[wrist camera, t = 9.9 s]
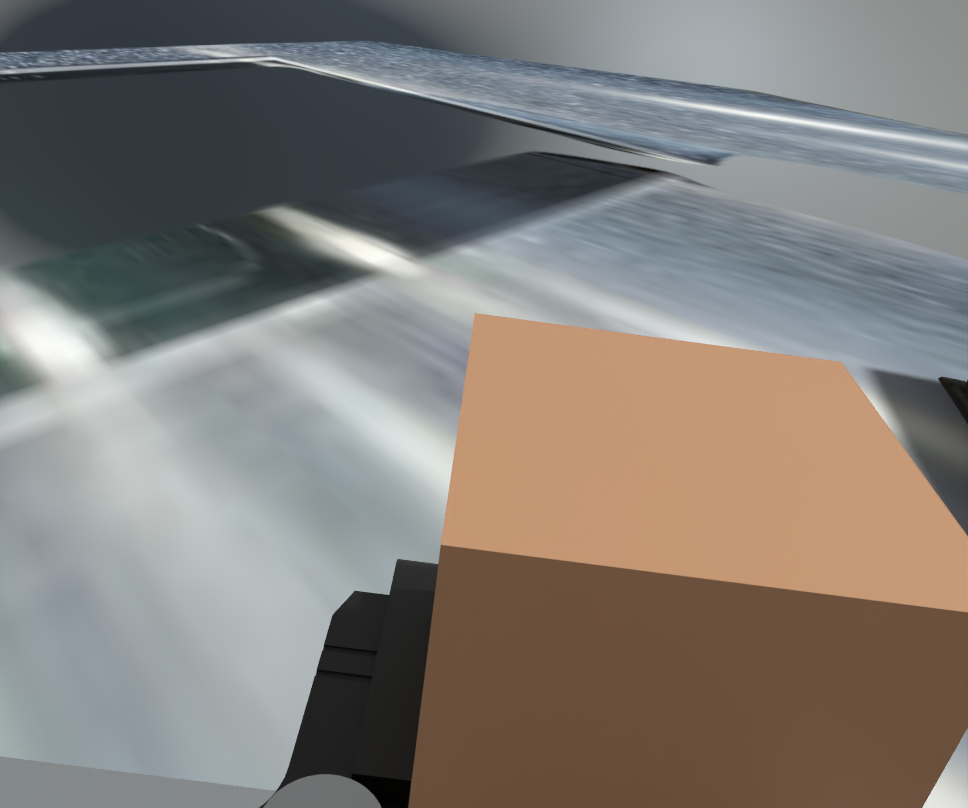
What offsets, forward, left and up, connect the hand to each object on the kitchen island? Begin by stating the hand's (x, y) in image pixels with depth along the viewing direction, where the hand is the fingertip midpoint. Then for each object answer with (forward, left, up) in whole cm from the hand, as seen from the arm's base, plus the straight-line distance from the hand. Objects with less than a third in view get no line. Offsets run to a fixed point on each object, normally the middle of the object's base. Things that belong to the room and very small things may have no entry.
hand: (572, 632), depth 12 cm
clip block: (+2, -2, -7) cm, 8 cm away
